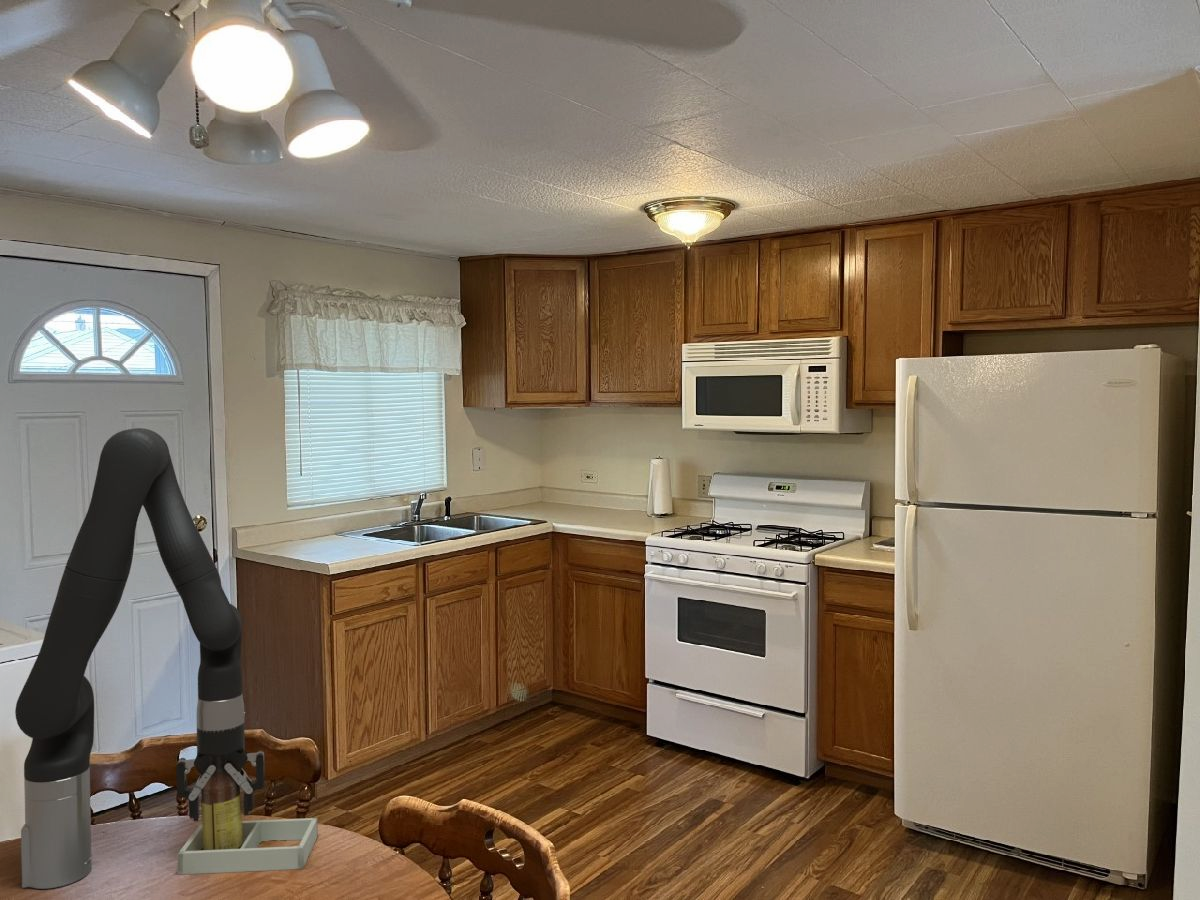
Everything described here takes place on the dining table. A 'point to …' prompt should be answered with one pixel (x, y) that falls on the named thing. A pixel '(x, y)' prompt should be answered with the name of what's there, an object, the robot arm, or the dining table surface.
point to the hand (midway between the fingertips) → (222, 816)
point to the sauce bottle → (221, 809)
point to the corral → (252, 848)
